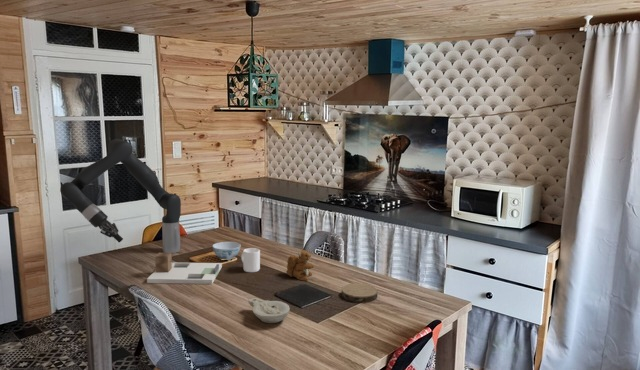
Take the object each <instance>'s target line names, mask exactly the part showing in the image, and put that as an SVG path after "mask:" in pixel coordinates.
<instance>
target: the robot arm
mask: <svg viewBox="0 0 640 370" xmlns="http://www.w3.org/2000/svg"><path fill="white" fill-rule="evenodd" d="M107 147H108V152H109V153H108V154H107V155H106V156H104V157H103V158H101V159H99V160H97V161H95V162H93V163H90V165H88V166H86V167H85V168H84V169H82V170H81V171H80V172H79V173H78V174H76V175H75V177H74V179H73V180H71V181H69V182H68V181H67V182H63V184H62V185H61V186H60V190H59V191H60V193H61V196H62V197H63V198H64V199H65V200H68V201H69V202H70V203H71V204H73V207H74V208H75V209H76V210H77V211H78V212H79V213H80V214H81V215H82V216H83V217H84V218H85V220H87V221H88V222H89V223H90V224H91V225H92V226H93V227H94V228H99V229H100V230H101V231H99V232H100V234H102V235H104V236H105V237H108V238H114V240H115V241H117V242H118V243H121V242H122V241H123V240H124V238H123V237H122V236H121V235H120V234H119V229H118V227H117V225H116V223H114V222H113V223H111V222H110V221H109V220H108V219H109V218H108V215H107V214H105V212H104V211H103V210H102V209H101V208H100V207H98V206H97V205H96V204H94V202H93V201H91V200H90V199H89V198H88V197H86V195H85V194H84V193H83V191H84V189H86V187H88V186H89V185H91V184H92V183H93V182H94V181H95V180H96V179H98V178H99V177H100V176H101V175H103V174H104V173H105V172H107V171H109V169H112V168H113V167H114V166H116V165H118V164H120V163H121V164H122V165H123V166H124V167H125V168H126V170H127V171H128V172H129V173H130V174H131V175H132V176H133V178H134V179H135V180H136V181H137V182H138V183H139V184H140V185H141V186H142V187H143V188H144V189H145V190H146V191H147V193H149V194H150V195H151V196H152V197H153V199H154V200H155V201H156V202H157V204H158V205H159V206H160V207H161V208H162V209H164V210H166V211H165V212H166V215H163V216H162V218H161V227H162V229H161V230H162V253H171V254H175V253H179V252H180V251H181V233H180V219H181V218H180V217H181V215H182V214H181V213H182V212H181V208H182V203H181V202H182V201H181V198H180V196H179V195H177V194H176V193H171V192H168V191H167V190H166V189H164V187H162V186H161V184H160V181H159V179H158V176H157V175H156V173H155V172H154V171H153V170H152V169H151V168H150V167H149V165H147V164H146V163H145V162H143V161H142V160H140V158H138V157H137V156H135V154H133V151H134V148H133V145H132V144H131V143H130V142H129V141H126V140H123V139H120V138H115V139H112V140H111V141H109V143H108V146H107Z"/></svg>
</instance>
